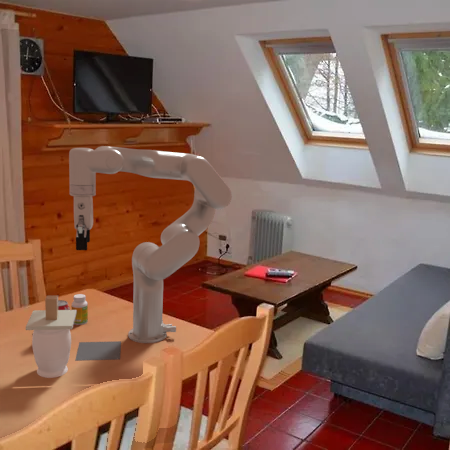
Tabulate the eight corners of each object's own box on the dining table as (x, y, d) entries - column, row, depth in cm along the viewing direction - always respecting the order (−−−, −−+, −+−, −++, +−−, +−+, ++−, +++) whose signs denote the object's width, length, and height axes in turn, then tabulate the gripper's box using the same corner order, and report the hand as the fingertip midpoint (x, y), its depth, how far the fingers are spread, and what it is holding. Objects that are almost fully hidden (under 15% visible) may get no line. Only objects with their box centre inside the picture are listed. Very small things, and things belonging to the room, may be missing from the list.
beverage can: (64, 343, 177) (63, 307, 175) (46, 340, 178) (45, 305, 176) (73, 335, 183) (73, 300, 181) (55, 333, 184) (55, 298, 182)
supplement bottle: (84, 326, 191) (83, 299, 189) (69, 324, 192) (68, 297, 190) (90, 320, 196) (90, 294, 194) (75, 318, 197) (75, 292, 195)
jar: (26, 370, 158) (24, 320, 155) (59, 360, 166) (59, 312, 162) (44, 384, 151) (43, 332, 148) (78, 373, 158) (78, 323, 155)
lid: (76, 313, 163) (76, 290, 161) (72, 329, 151) (71, 304, 150) (33, 313, 161) (32, 290, 159) (25, 330, 149) (24, 305, 148)
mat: (121, 342, 180) (121, 341, 180) (120, 360, 167) (120, 359, 167) (79, 343, 178) (79, 342, 178) (75, 361, 165) (75, 360, 165)
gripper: (93, 195, 158) (93, 253, 162) (97, 186, 175) (97, 239, 179) (66, 194, 157) (67, 253, 161) (72, 185, 174) (73, 239, 177)
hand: (83, 245), depth 170 cm, fingers open, 9 cm apart
